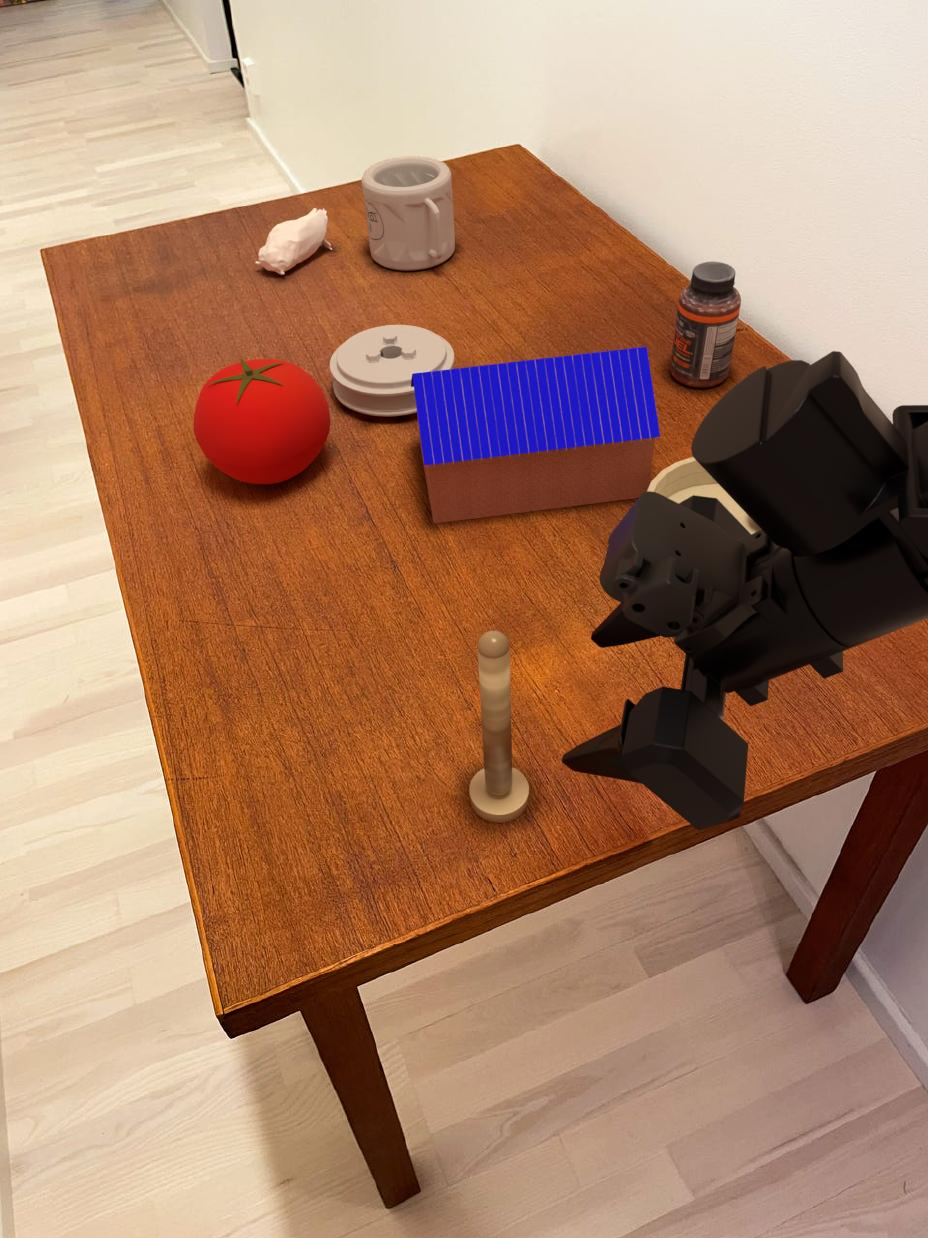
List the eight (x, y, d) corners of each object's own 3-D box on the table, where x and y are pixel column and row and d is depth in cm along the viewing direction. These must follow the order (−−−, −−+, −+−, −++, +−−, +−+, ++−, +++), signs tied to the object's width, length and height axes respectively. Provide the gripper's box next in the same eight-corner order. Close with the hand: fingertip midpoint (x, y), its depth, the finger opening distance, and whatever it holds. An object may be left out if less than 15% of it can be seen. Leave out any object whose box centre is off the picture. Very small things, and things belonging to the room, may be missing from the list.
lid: (312, 409, 98) (303, 365, 94) (371, 348, 106) (366, 305, 102) (422, 435, 94) (418, 391, 90) (475, 369, 101) (473, 326, 98)
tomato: (187, 470, 92) (156, 373, 84) (289, 415, 97) (268, 320, 90) (256, 522, 86) (230, 423, 78) (360, 460, 91) (345, 362, 84)
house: (652, 498, 85) (666, 384, 77) (430, 526, 84) (419, 413, 76) (619, 422, 94) (628, 311, 85) (416, 446, 92) (405, 337, 84)
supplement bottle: (657, 368, 100) (669, 264, 92) (705, 353, 101) (721, 250, 93) (690, 396, 96) (705, 290, 88) (740, 380, 98) (759, 275, 90)
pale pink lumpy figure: (301, 252, 126) (248, 265, 118) (308, 199, 121) (254, 209, 114) (330, 267, 124) (279, 281, 117) (338, 214, 120) (286, 225, 113)
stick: (539, 809, 64) (541, 648, 52) (484, 831, 63) (474, 672, 51) (513, 764, 66) (510, 601, 55) (460, 785, 65) (446, 623, 54)
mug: (357, 247, 123) (346, 166, 116) (431, 226, 126) (426, 147, 119) (402, 290, 115) (394, 206, 107) (481, 266, 118) (478, 183, 110)
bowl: (849, 563, 78) (860, 530, 76) (700, 617, 75) (706, 585, 72) (748, 468, 88) (754, 436, 85) (611, 512, 84) (614, 481, 82)
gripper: (736, 364, 48) (520, 506, 58) (701, 630, 35) (435, 751, 46) (861, 507, 52) (639, 616, 62) (869, 791, 40) (590, 869, 50)
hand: (582, 699), depth 55 cm, fingers open, 9 cm apart
